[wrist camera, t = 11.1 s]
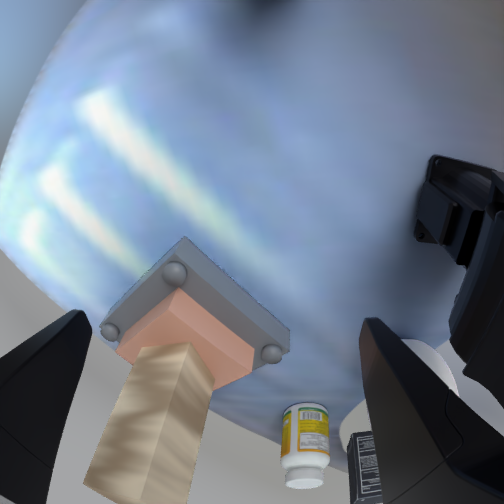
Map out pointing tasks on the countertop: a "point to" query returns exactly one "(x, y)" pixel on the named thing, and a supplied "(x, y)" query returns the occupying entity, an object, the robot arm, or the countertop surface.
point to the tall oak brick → (154, 429)
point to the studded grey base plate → (196, 316)
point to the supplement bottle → (305, 445)
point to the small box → (363, 470)
